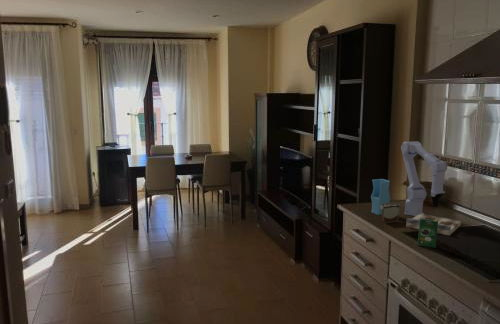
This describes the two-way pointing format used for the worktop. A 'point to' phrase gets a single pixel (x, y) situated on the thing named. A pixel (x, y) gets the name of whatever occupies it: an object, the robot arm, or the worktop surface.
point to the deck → (444, 224)
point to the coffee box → (427, 232)
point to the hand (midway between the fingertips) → (435, 206)
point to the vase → (379, 195)
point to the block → (430, 217)
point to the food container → (390, 212)
